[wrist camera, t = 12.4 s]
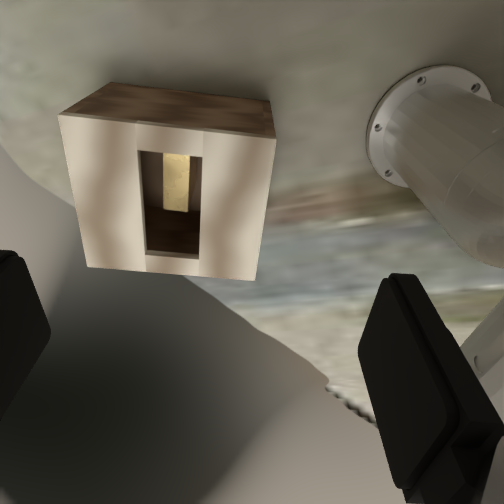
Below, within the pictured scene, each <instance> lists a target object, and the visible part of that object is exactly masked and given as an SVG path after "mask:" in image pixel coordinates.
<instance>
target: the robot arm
mask: <svg viewBox="0 0 504 504" xmlns="http://www.w3.org/2000/svg"><path fill="white" fill-rule="evenodd" d="M419 77H420V78H421V79H420V81H419V82H417V80H418V78H419ZM472 86H473V87H472ZM471 87H472V88H471ZM377 123H378V126H377V127H375V125H376V124H377ZM366 149H367V153H368V157H369V160H370V162H371V164H372V166H373V167H374V169H375V170H376V171H377V173H378V174H379V175H380V176H381V177H382V178H383V179H385V180H386V181H388V182H390V183H392V184H394V185H397V186H400V187H406V188H410V189H411V190H412V191H413V192H414V194H415V195H416V196H417V197H418V198H419V200H420V201H421V202H422V203H423V204H424V206H425V207H426V208H427V209H428V210H429V212H430V213H431V214H432V215H433V216H434V218H435V219H436V220H437V221H438V222H439V224H440V225H441V226H442V227H443V228H444V230H445V231H446V232H447V233H448V234H449V236H451V238H452V239H453V240H454V241H455V242H456V243H457V245H458V246H459V247H460V248H461V249H462V250H463V251H465V252H466V253H467V254H468V255H470V256H471V257H473V258H474V259H476V260H478V261H481V262H483V263H485V264H488V265H491V266H495V267H500V268H504V107H503V106H500V105H498V104H496V103H494V102H492V99H491V95H490V92H489V90H488V88H487V86H486V85H485V83H484V82H483V81H482V80H481V79H480V78H479V77H478V76H477V75H476V74H474V73H472V72H470V71H468V70H466V69H463V68H460V67H457V66H449V65H440V66H431V67H428V68H424V69H421V70H418V71H416V72H414V73H412V74H410V75H408V76H407V77H405V78H404V79H402V80H401V81H399V82H398V83H397V84H395V85H394V86H393V87H392V88H391V89H390V90H389V91H388V92H387V93H386V94H385V96H384V97H383V98H382V99H381V101H380V102H379V103H378V105H377V107H376V109H375V111H374V112H373V114H372V116H371V119H370V122H369V125H368V129H367V135H366ZM387 170H388V171H387ZM386 171H387V172H386ZM50 335H51V329H50V326H49V323H48V321H47V318H46V315H45V313H44V310H43V307H42V305H41V302H40V299H39V297H38V294H37V292H36V289H35V286H34V284H33V281H32V278H31V276H30V273H29V271H28V268H27V265H26V263H25V261H24V259H23V258H22V257H19V256H18V254H17V253H16V252H15V251H11V250H0V420H1V419H2V417H3V415H4V414H5V412H6V410H7V409H8V407H9V406H10V404H11V402H12V401H13V399H14V397H15V396H16V394H17V392H18V391H19V389H20V387H21V386H22V384H23V383H24V381H25V379H26V377H27V376H28V374H29V373H30V371H31V369H32V368H33V366H34V364H35V363H36V361H37V360H38V358H39V356H40V355H41V353H42V351H43V350H44V348H45V346H46V345H47V343H48V341H49V339H50ZM358 357H359V361H360V365H361V368H362V372H363V375H364V379H365V383H366V386H367V390H368V393H369V397H370V400H371V404H372V407H373V411H374V415H375V418H376V422H377V425H378V429H379V432H380V436H381V439H382V443H383V447H384V450H385V454H386V457H387V461H388V464H389V468H390V471H391V475H392V478H393V481H394V484H395V486H396V487H397V488H399V489H402V490H403V494H404V497H405V501H406V503H412V504H504V296H503V298H502V300H501V301H500V302H499V303H498V304H497V305H496V306H495V308H494V309H493V310H492V311H491V312H490V313H489V314H488V315H487V317H486V318H485V319H484V320H483V321H482V322H481V323H480V324H479V326H478V327H477V328H476V329H475V330H474V331H473V332H472V333H471V335H470V336H469V337H468V338H467V339H466V340H465V341H464V343H463V344H462V345H461V346H460V347H459V345H458V344H457V342H456V340H455V339H454V337H453V335H452V333H451V332H450V331H449V330H448V329H447V328H446V326H445V325H444V323H443V321H442V319H441V318H440V316H439V314H438V312H437V311H436V309H435V307H434V305H433V304H432V302H431V300H430V298H429V297H428V295H427V293H426V291H425V290H424V288H423V286H422V284H421V283H420V281H419V279H418V278H417V276H416V275H414V274H400V273H392V274H390V275H389V277H388V278H384V279H383V280H382V281H381V284H380V287H379V289H378V292H377V295H376V298H375V300H374V303H373V306H372V309H371V312H370V314H369V317H368V320H367V323H366V326H365V328H364V331H363V334H362V337H361V339H360V342H359V345H358Z"/></svg>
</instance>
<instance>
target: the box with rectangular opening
mask: <svg viewBox="0 0 504 504" xmlns="http://www.w3.org/2000/svg"><path fill="white" fill-rule="evenodd" d="M58 119H59V124H60V129H61V135H62V140H63V145H64V150H65V155H66V160H67V165H68V170H69V175H70V180H71V186H72V191H73V196H74V201H75V206H76V211H77V216H78V221H79V226H80V231H81V236H82V241H83V247H84V252H85V257H86V262H87V267H98V268H109V269H121V270H132V271H144V272H156V273H169V274H179V275H191V276H203V277H215V278H227V279H238V280H250V281H255V276H256V270H257V263H258V257H259V250H260V244H261V237H262V231H263V224H264V218H265V212H266V205H267V199H268V192H269V186H270V179H271V173H272V167H273V160H274V154H275V147H276V141H277V139H276V133H275V128H274V122H273V117H272V111H271V106H270V101H262V100H254V99H246V98H237V97H229V96H221V95H212V94H204V93H196V92H188V91H179V90H171V89H163V88H154V87H146V86H138V85H129V84H121V83H113V82H110V83H108V84H107V85H105V86H104V87H102V88H100V89H99V90H97V91H95V92H94V93H92V94H91V95H89V96H87V97H86V98H84V99H82V100H81V101H79V102H78V103H76V104H74V105H73V106H71V107H69V108H68V109H66V110H64V111H63V112H61V113H60V114H58ZM163 153H169V154H178V155H187V156H197V169H196V185H195V188H194V192H193V195H192V199H191V202H190V206H189V209H188V212H183V211H175V210H167V209H163Z"/></svg>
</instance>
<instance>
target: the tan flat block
mask: <svg viewBox="0 0 504 504" xmlns="http://www.w3.org/2000/svg"><path fill="white" fill-rule="evenodd" d="M196 169H197V156H187V155H178V154H169V153H163V209H167V210H175V211H183V212H188V209H189V206H190V202H191V199H192V195H193V192H194V188H195V185H196Z"/></svg>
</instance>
